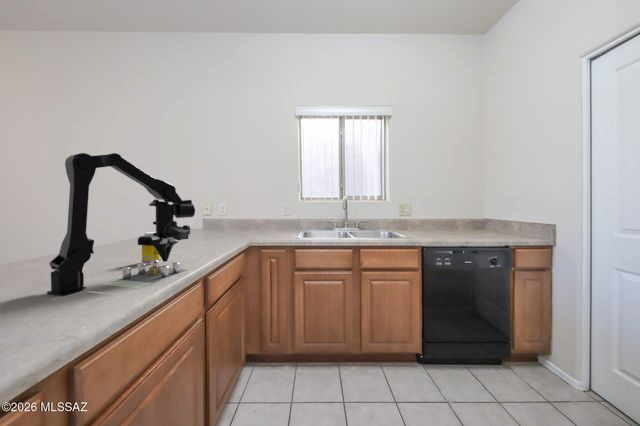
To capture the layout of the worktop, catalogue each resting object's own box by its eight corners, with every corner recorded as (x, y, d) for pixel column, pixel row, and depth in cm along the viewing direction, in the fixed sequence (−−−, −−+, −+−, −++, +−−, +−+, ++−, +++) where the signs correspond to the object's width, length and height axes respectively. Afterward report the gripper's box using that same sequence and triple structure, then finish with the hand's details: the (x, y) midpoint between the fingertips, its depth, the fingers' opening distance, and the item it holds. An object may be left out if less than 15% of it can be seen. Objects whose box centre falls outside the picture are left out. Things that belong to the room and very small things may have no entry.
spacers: (152, 282, 94) (152, 271, 94) (120, 279, 97) (120, 268, 97) (183, 271, 108) (183, 261, 108) (154, 268, 111) (154, 259, 111)
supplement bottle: (154, 265, 118) (154, 233, 117) (138, 265, 118) (137, 233, 117) (163, 262, 124) (163, 231, 124) (148, 261, 124) (147, 231, 124)
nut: (157, 276, 101) (157, 269, 101) (145, 275, 102) (145, 268, 102) (165, 273, 105) (165, 266, 105) (154, 272, 106) (154, 265, 106)
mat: (136, 289, 88) (136, 288, 88) (101, 285, 91) (101, 284, 91) (188, 271, 110) (188, 270, 110) (158, 268, 113) (158, 267, 113)
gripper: (164, 221, 96) (164, 268, 96) (200, 217, 114) (200, 257, 115) (136, 220, 98) (136, 266, 99) (175, 216, 116) (176, 256, 117)
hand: (165, 261), depth 107 cm, fingers closed
